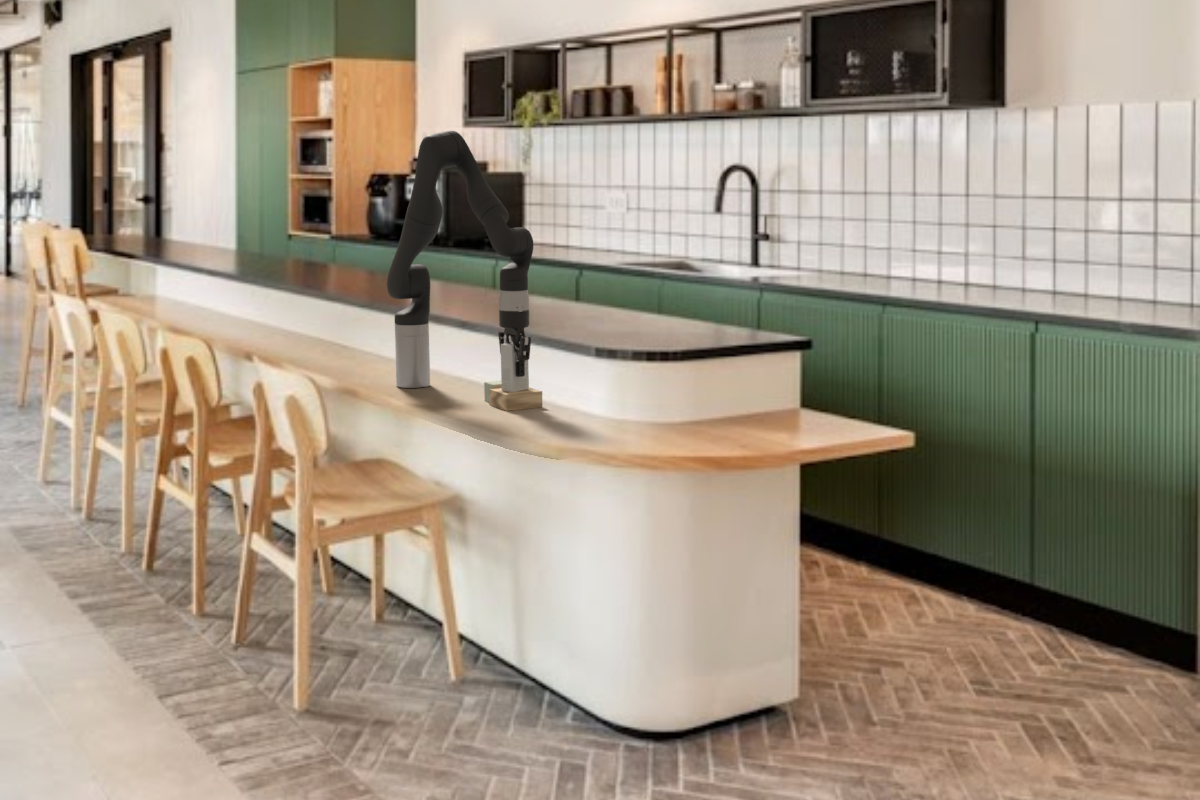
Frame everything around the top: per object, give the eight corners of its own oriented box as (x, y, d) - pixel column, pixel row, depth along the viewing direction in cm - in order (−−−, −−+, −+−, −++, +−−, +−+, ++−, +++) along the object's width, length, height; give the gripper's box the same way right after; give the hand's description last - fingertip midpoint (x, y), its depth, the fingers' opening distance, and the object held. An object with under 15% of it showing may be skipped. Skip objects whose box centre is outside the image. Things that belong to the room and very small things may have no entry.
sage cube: (484, 401, 378) (484, 382, 377) (502, 399, 380) (501, 380, 379) (493, 404, 374) (492, 384, 373) (510, 402, 376) (510, 383, 375)
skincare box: (516, 387, 373) (516, 341, 371) (529, 389, 370) (528, 342, 368) (500, 390, 368) (499, 343, 366) (512, 392, 366) (512, 345, 364)
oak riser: (489, 404, 372) (489, 389, 371) (524, 401, 377) (524, 385, 376) (506, 410, 363) (506, 394, 363) (542, 407, 368) (542, 391, 368)
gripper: (488, 306, 370) (489, 372, 373) (513, 311, 358) (514, 380, 361) (514, 304, 374) (515, 370, 377) (540, 309, 362) (541, 377, 364)
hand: (514, 374), depth 369 cm, fingers closed on skincare box, 5 cm apart
